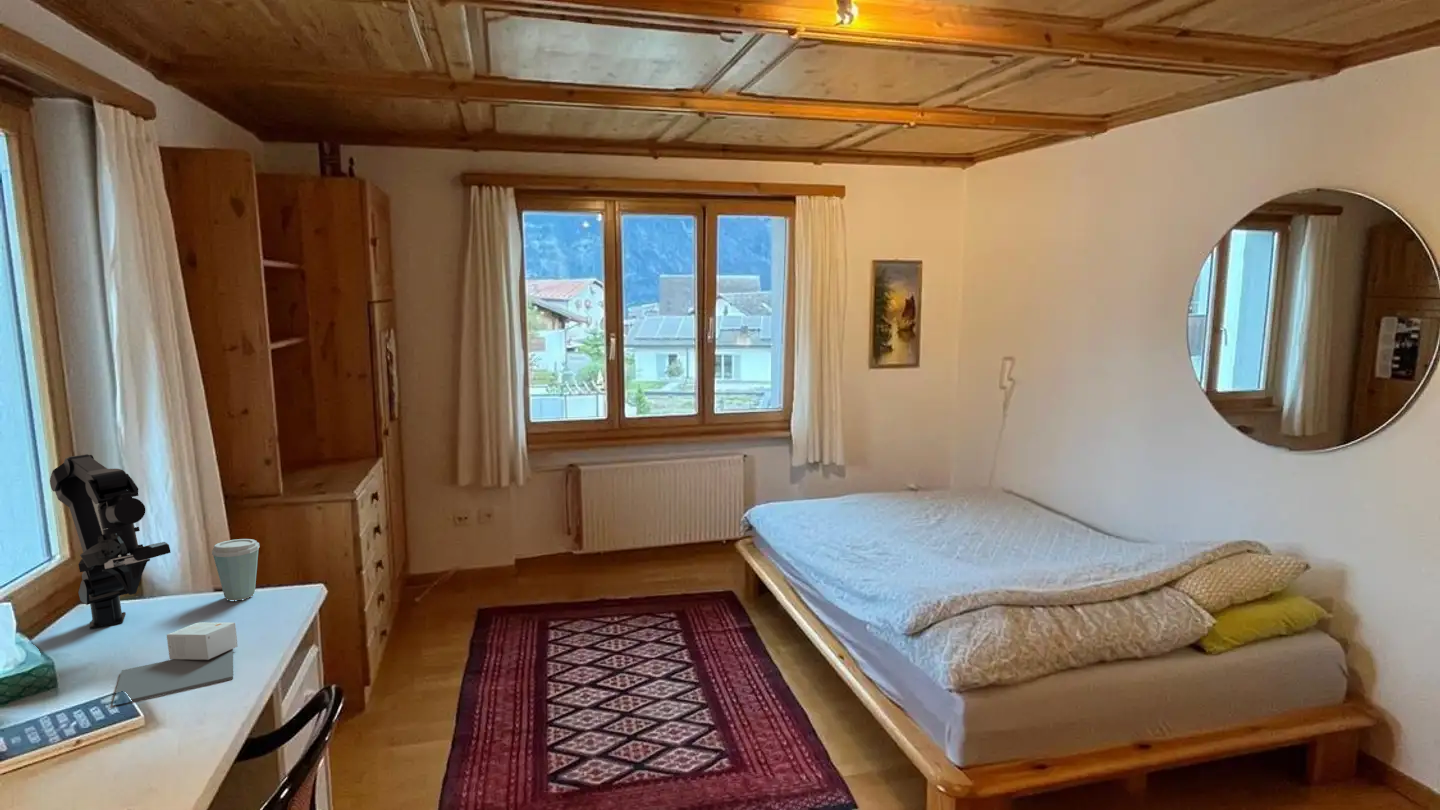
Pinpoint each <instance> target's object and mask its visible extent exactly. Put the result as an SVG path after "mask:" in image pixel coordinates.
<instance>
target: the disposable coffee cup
mask: <svg viewBox="0 0 1440 810" xmlns="http://www.w3.org/2000/svg"><path fill="white" fill-rule="evenodd" d="M259 548H260V542H258V541H257V540H255V539H253V538H252V539H251V538H239V539H237V538H236V539H231V540H225V541H221V542H218V543H216V544H215V545H214V546H213V549H212V550H211V555H212V556H213V561H214V563H215V567H216V571H217V574H218V577H219V581H220V582H219V583H220V584H221V588H222V593H223V596H224V598H225V600H226V599H228V600H234V601H235V600H242V599H246V598H249V597H251V596H254V595H255V592H256V585H257V584H256V583H257V582H256V581H257V571H258V558H259ZM253 594H254V595H253ZM251 598H252V597H251ZM249 599H250V598H249ZM228 600H227V601H228ZM246 600H247V599H246ZM234 601H233V602H234ZM242 601H243V600H242ZM235 602H236V601H235Z"/></svg>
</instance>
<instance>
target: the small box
mask: <svg viewBox="0 0 1440 810" xmlns="http://www.w3.org/2000/svg"><path fill="white" fill-rule="evenodd" d="M237 636H238V635H237V628H236V622H204V621H203V622H202V621H201V622H195V623H193V624H191V625H188V626H185V627H183V628H180V629H178V630H176V631H173V632H170V633H167V634H166V640H167V649H168V655H169V657H168V658H169V660H173V659H190V660H209V659H211V658H213V657H216V656H218V655H220V654H222V653H224V652H227V651H229V650H231V649H233V650H234V649H235V648H237V647H238V637H237Z"/></svg>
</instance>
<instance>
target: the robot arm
mask: <svg viewBox="0 0 1440 810" xmlns="http://www.w3.org/2000/svg"><path fill="white" fill-rule="evenodd" d="M49 485H50V489H51V490H52V492H55V495H56V498H57V500H58V501H59V502H61V503H63V504H64V505H65V506H67V507H68V509H69V510H70V514H71V518H72V521H73V523H74V527H75V530H76V533H77V537H78V541H79V543H80V547H81V549H82V553H81V554H80V557H81V559H80V561H79V562H78V564H77V565H78V569H79V573H81V579H82V580H81V582H80V586H79V589H78V596H79V601H80V602H82V603H83V604H84V605H86V606H88V605H90V612H91V613H90V614H91V618H92V619H91V622H90V624H89V626H88V627H89V629H91V630H93V629H95V628H96V629H97V628H101V627H102V628H103V627H107V626H112V625H118V624H122V623H124V621H125V617H126V612H125V611H122V605H121V604H122V603H121V599H120V598H121V596H124V595H131V596H132V595H135V594H137V592H138V590H139V589H138V588H139V585H140V582H141V579H142V576H143V574H144V571H145V569H146V566H147V564H148V562H150V561H151V559H152V558H157V557H161V556H164V555H168V554H171V546H170V544H168V542H166V541H162V542H157V543H152V544H148V545H144V544H139V543H138V539H137V532H141V530H140V527H139V526H136V527H135V526H134V524H135V523H138V522H140V521H141V520H142V519H143V518H144V517H145V515H146V506H145V504H144V503H143V501H141V500H139V499H138V498H137V497H139V487H138V486H137V484H136V482H135V481H134V480H133V478H132V477H131V476H130V475H129V473H126V471H125V470H124V469H121V468H107V467H106V466H104V465H103V464H101V463H100V462H99V461H97V460H95V458H94V456H93V455H92V454H88V453H84V454H78V455H73V456H71V455H70V456H68V457H67V458H65V459H64V461H63V463H62V464H60V465H58V466H57V467H55V468H54V469H52V472H51V475H50V479H49ZM94 504H95V505H97V512H96V508H95V506H94ZM97 513H98V516H97ZM143 545H144V546H143Z"/></svg>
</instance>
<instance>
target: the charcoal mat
mask: <svg viewBox="0 0 1440 810" xmlns="http://www.w3.org/2000/svg"><path fill="white" fill-rule="evenodd" d="M233 679H234V648H233V649H231V650H229V651H227V652H224V653H222V654H220V655H218V656H216V657H213V658H211V659H209V660H190V659H168V660H165V661H160V662H156V663H155V662H154V663H150V664H146V665H141V666H136V667H131V668H127V669H122V670H121V672H120V675H119V678H118V682H117V685H116V690H115V693H117V692H121V691H124V692H126V693H127V694H128V696H129V697H130V698H131V700H132V701H133V702H132V703H135V702H139V701H142V700H147V699H151V698H155V697H161V696H165V695H169V694H173V693H178V692H182V691H186V690H190V689H191V690H192V689H195V688H199V687H203V686H208V685H212V684H217V683H221V682H226V681H231V680H233Z"/></svg>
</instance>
